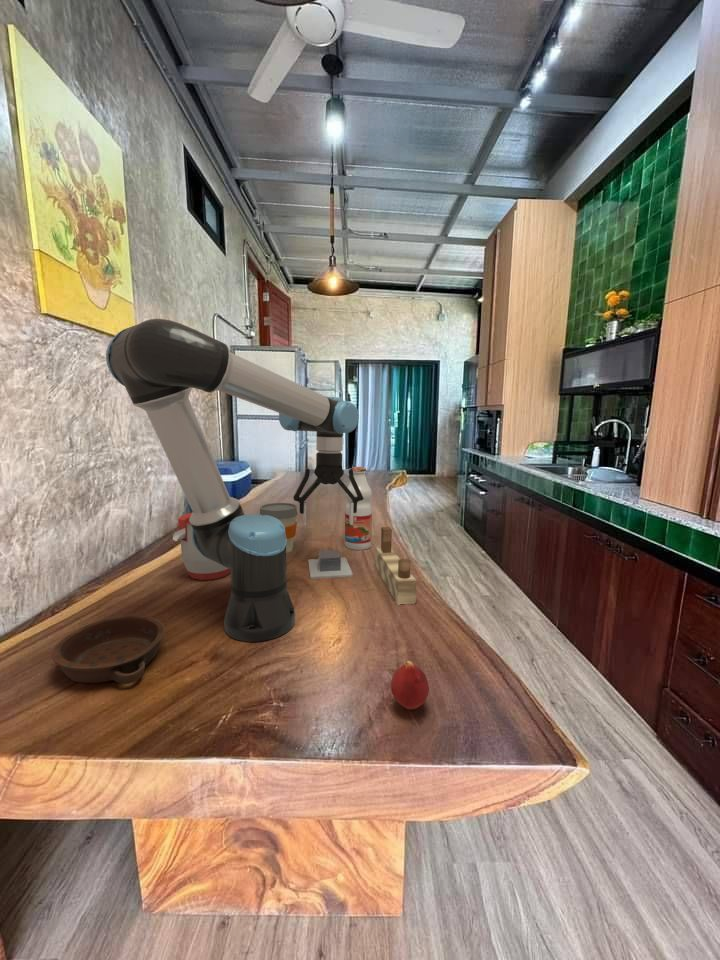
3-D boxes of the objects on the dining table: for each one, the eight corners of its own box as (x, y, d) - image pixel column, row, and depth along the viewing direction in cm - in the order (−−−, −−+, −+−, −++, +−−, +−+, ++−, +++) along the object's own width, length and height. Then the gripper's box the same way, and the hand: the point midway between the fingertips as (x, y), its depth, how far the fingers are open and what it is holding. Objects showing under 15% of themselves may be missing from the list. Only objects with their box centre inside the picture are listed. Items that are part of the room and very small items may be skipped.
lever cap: (340, 570, 118) (340, 557, 117) (320, 571, 117) (320, 558, 116) (337, 561, 124) (337, 549, 124) (318, 562, 123) (318, 550, 123)
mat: (352, 576, 115) (352, 574, 115) (310, 579, 113) (310, 576, 113) (346, 559, 128) (346, 557, 128) (308, 561, 126) (308, 559, 126)
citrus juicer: (167, 573, 116) (163, 505, 113) (225, 559, 127) (223, 497, 124) (186, 591, 104) (181, 516, 101) (248, 574, 116) (246, 506, 112)
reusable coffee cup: (253, 553, 133) (252, 509, 131) (272, 542, 145) (271, 501, 143) (287, 557, 130) (286, 512, 127) (304, 545, 141) (303, 504, 139)
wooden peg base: (415, 603, 99) (417, 553, 97) (397, 605, 98) (399, 553, 96) (389, 565, 124) (390, 524, 122) (375, 566, 123) (376, 524, 121)
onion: (424, 695, 66) (425, 650, 65) (431, 721, 61) (433, 673, 59) (388, 695, 66) (390, 650, 65) (392, 721, 60) (394, 673, 59)
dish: (70, 718, 61) (67, 688, 60) (43, 657, 76) (40, 633, 75) (186, 667, 73) (184, 642, 72) (142, 623, 88) (141, 602, 87)
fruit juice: (375, 544, 144) (377, 467, 139) (363, 552, 135) (364, 470, 131) (352, 540, 148) (353, 465, 143) (339, 547, 140) (340, 468, 135)
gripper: (369, 451, 121) (367, 520, 124) (285, 450, 117) (285, 521, 120) (374, 453, 114) (372, 526, 117) (285, 452, 109) (284, 528, 112)
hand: (328, 524), depth 118 cm, fingers open, 13 cm apart
